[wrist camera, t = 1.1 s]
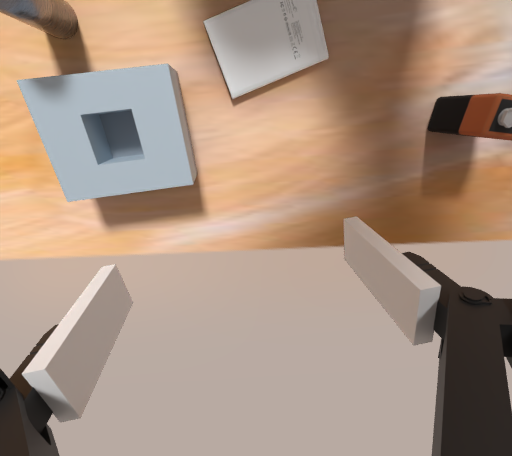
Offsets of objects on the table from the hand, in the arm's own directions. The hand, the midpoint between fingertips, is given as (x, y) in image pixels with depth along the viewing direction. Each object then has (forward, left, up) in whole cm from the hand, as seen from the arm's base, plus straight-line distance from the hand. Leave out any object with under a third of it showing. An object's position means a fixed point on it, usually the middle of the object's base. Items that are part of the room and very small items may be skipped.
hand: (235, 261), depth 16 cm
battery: (-4, +32, -24) cm, 40 cm away
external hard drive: (-15, +7, -24) cm, 29 cm away
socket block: (-7, -11, -23) cm, 27 cm away
